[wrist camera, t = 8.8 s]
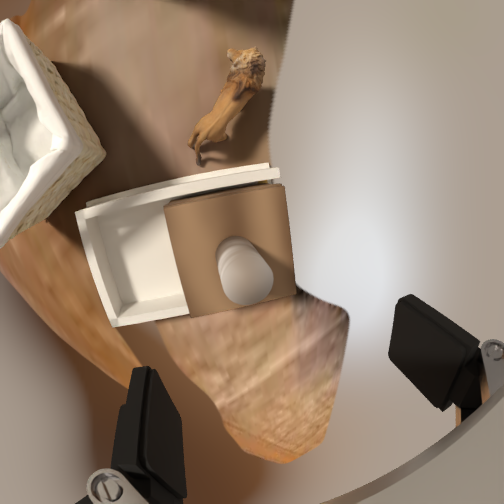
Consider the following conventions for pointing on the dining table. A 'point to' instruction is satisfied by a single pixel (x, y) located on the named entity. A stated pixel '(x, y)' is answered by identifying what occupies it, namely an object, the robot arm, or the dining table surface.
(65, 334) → the dining table surface
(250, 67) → the lion figurine
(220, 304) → the tan block with peg
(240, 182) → the bay
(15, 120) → the storage basket
